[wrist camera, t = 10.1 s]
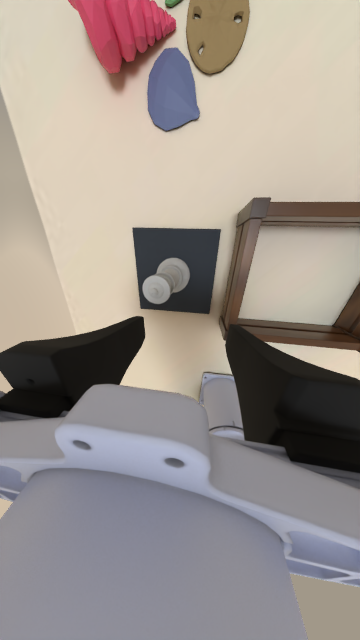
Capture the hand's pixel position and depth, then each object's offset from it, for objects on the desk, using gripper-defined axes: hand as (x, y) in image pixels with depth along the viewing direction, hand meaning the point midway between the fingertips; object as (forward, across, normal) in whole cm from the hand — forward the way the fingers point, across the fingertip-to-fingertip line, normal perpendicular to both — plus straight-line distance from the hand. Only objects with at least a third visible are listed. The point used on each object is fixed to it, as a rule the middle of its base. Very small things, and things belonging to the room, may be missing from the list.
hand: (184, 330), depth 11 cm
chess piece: (+10, +3, -3) cm, 11 cm away
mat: (+10, +2, -3) cm, 11 cm away
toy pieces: (+10, +4, -22) cm, 25 cm away
